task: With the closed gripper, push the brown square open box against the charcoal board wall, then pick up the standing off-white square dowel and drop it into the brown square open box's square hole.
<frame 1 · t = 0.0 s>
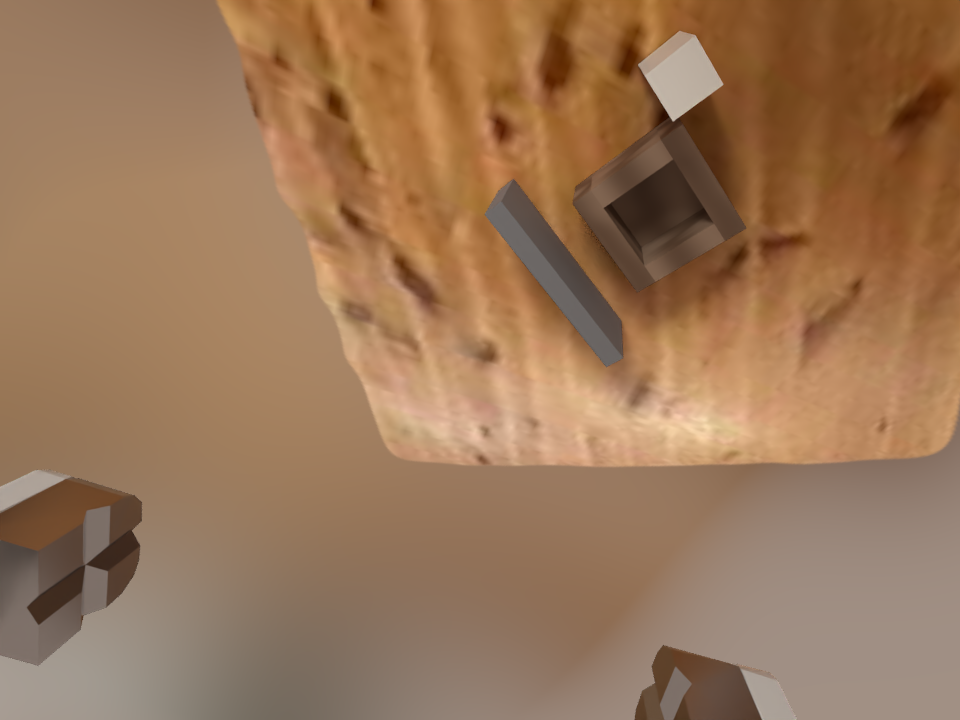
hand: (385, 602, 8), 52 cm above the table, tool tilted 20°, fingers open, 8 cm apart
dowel: (670, 68, 48), on the table
brown square open box: (653, 197, 54), on the table
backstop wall: (562, 258, 59), on the table
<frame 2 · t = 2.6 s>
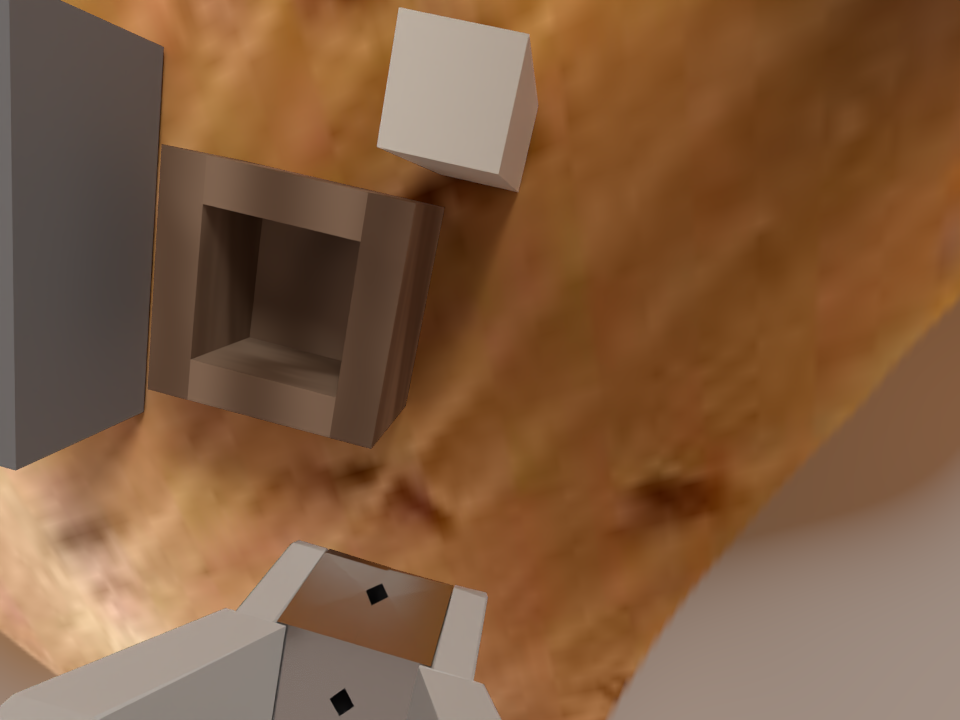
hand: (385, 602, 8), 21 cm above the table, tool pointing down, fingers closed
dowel: (488, 140, 26), on the table
brown square open box: (326, 287, 29), on the table
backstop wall: (135, 241, 30), on the table
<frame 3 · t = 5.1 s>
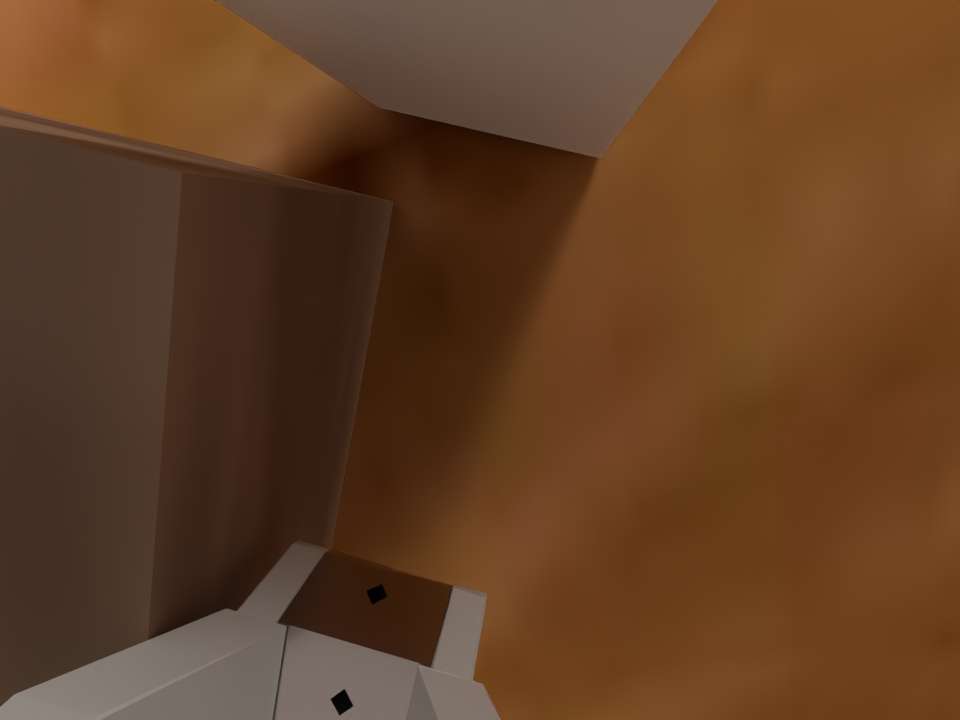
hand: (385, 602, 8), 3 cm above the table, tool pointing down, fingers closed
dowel: (516, 4, 9), on the table
brown square open box: (112, 396, 12), on the table, touching gripper
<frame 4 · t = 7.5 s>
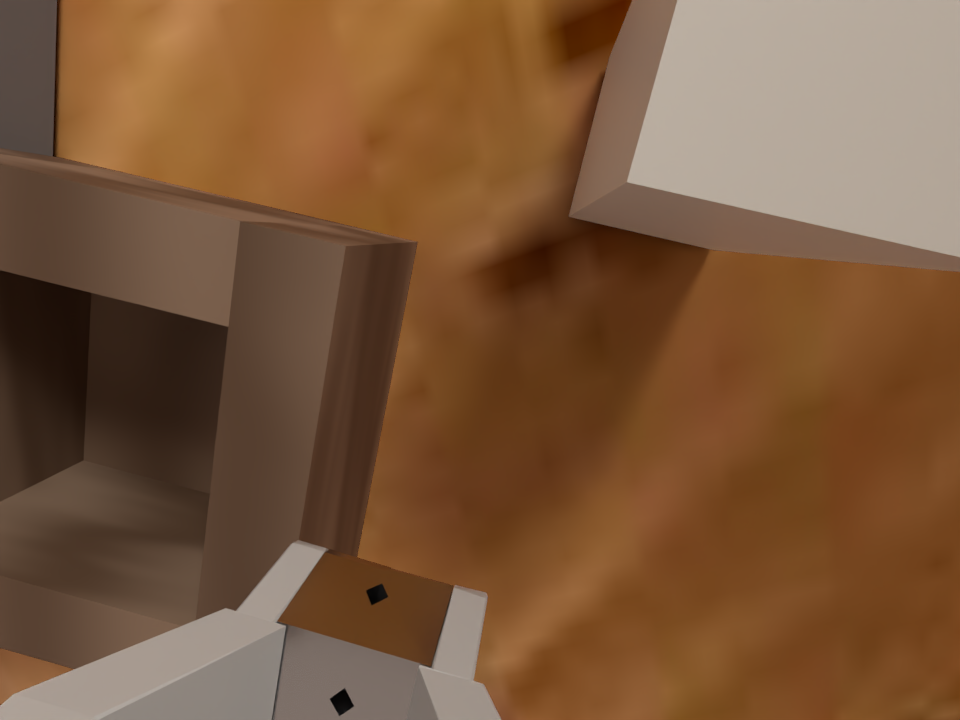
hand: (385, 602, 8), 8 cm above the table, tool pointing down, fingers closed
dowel: (663, 156, 14), on the table
brown square open box: (217, 375, 17), on the table
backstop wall: (18, 325, 17), on the table
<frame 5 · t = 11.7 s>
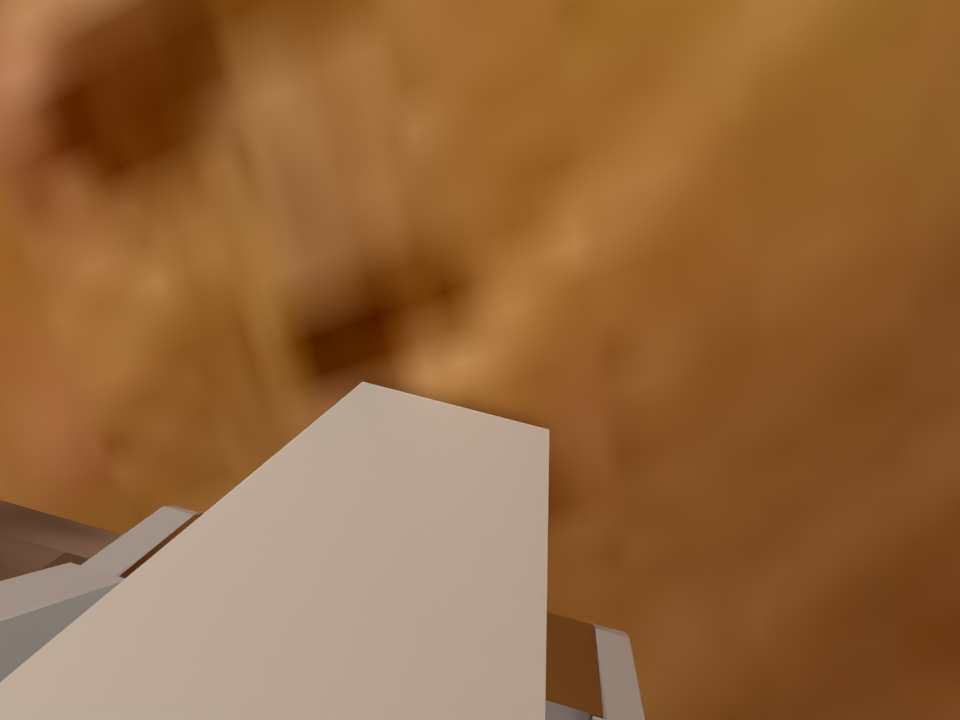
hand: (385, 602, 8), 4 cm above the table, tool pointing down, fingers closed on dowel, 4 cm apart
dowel: (436, 490, 12), on the table, touching gripper
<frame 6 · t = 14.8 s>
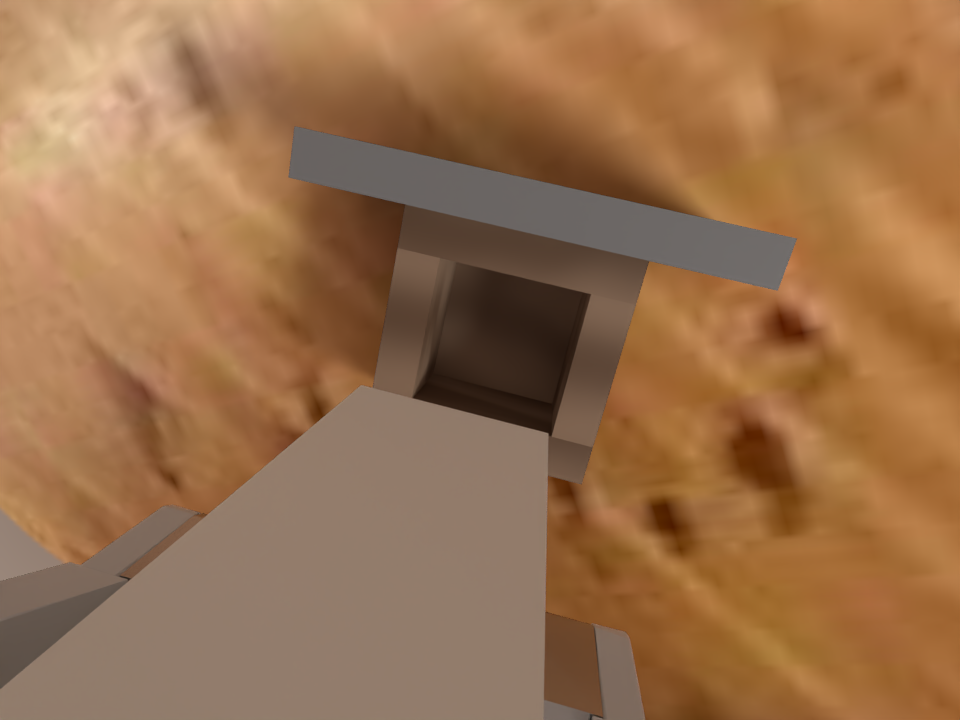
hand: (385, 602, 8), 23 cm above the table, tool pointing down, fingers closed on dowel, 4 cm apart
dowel: (434, 493, 12), point 20 cm above the table, touching gripper
brown square open box: (507, 326, 31), on the table
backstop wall: (537, 211, 29), on the table
when the fingers open (8 cm above the table, at t = 18.1 s): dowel drops 3 cm, resting on brown square open box.
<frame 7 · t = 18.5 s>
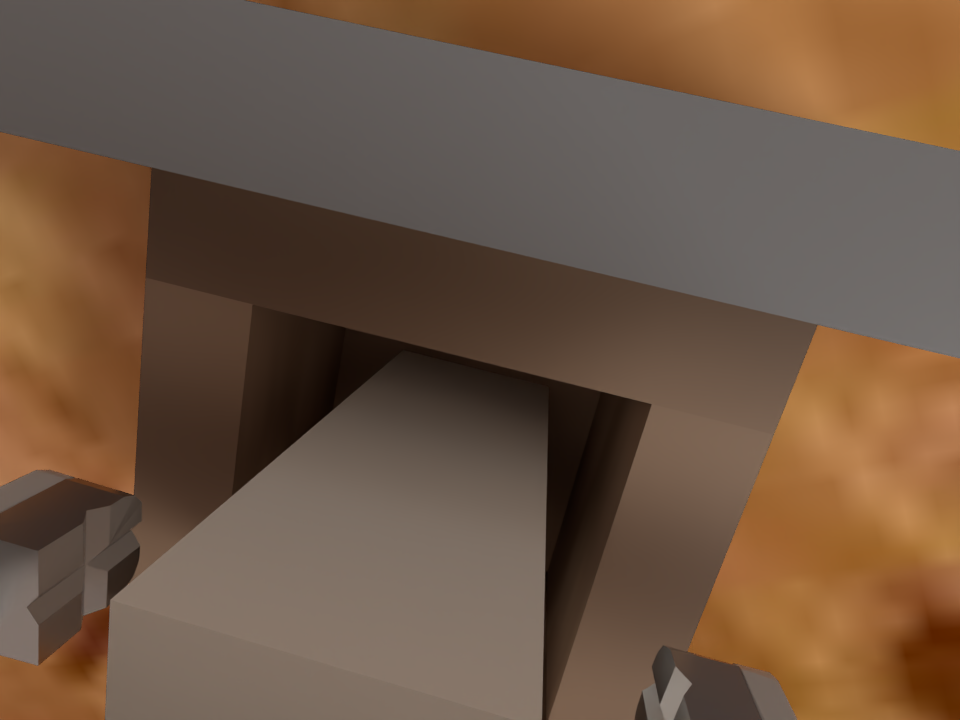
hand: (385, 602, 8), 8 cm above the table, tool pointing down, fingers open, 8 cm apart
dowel: (459, 436, 15), point 1 cm above the table, touching brown square open box
brown square open box: (460, 418, 16), on the table, touching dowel
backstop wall: (516, 190, 14), on the table
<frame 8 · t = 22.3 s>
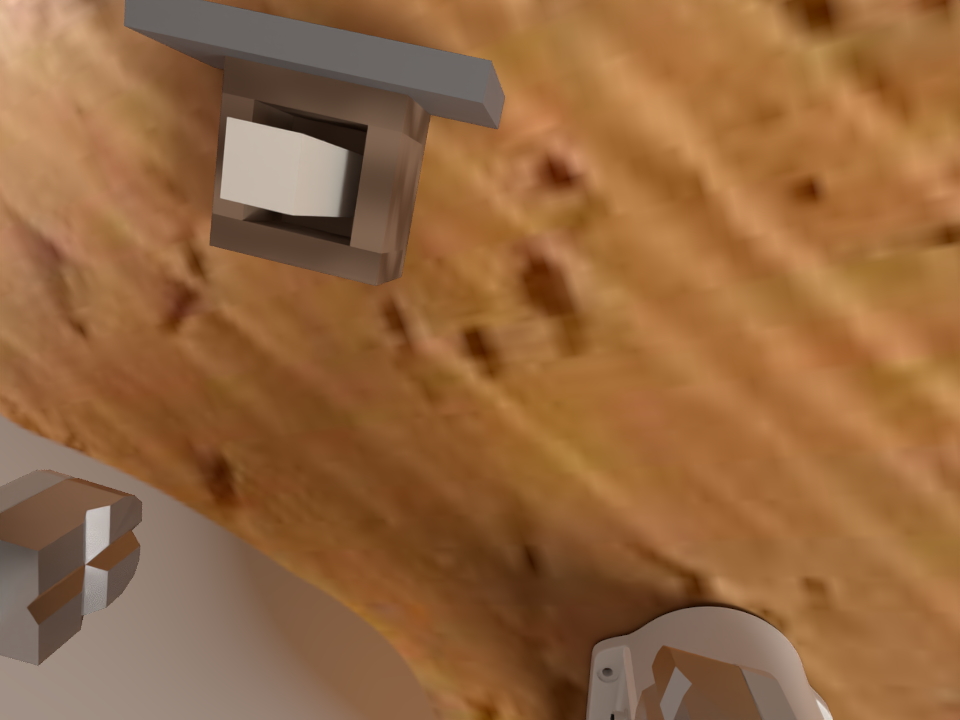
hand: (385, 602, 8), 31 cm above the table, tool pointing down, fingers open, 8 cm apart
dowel: (336, 181, 37), point 1 cm above the table, touching brown square open box
brown square open box: (341, 181, 38), on the table, touching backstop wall, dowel
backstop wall: (355, 81, 36), on the table
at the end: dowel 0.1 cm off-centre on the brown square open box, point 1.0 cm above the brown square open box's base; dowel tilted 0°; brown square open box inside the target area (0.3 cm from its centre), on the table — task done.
